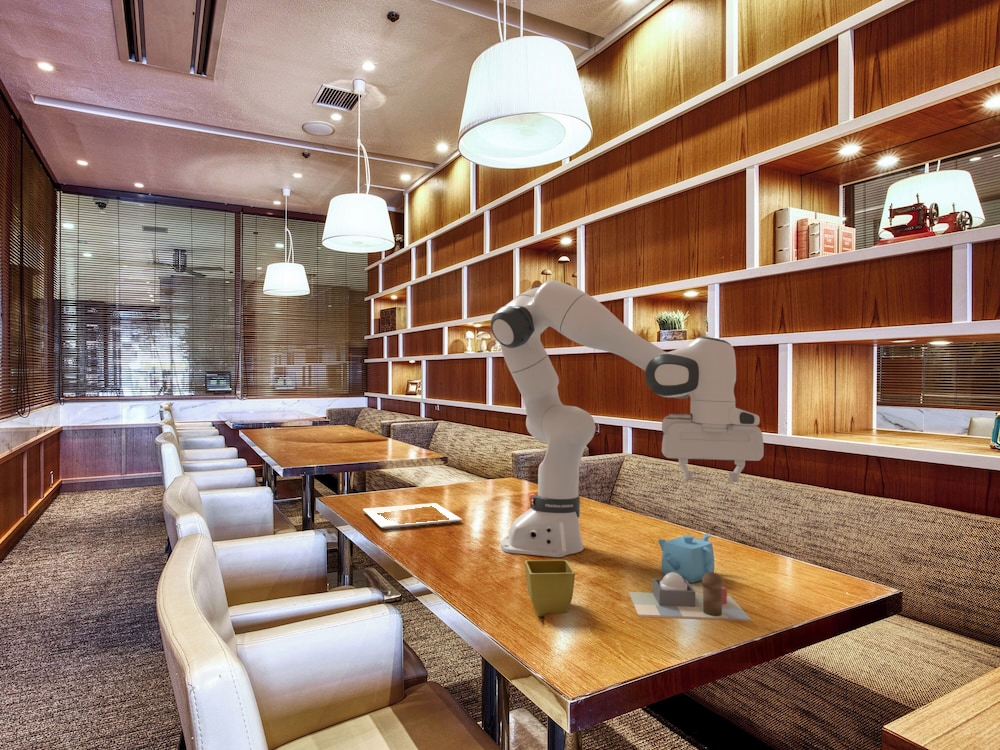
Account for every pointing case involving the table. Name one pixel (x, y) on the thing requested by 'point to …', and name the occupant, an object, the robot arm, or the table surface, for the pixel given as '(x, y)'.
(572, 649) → the table surface
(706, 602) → the pawn
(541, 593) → the flower pot
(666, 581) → the dome
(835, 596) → the table surface
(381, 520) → the white frame
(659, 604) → the board
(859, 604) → the table surface
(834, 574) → the table surface
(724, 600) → the red cube
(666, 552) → the teapot
